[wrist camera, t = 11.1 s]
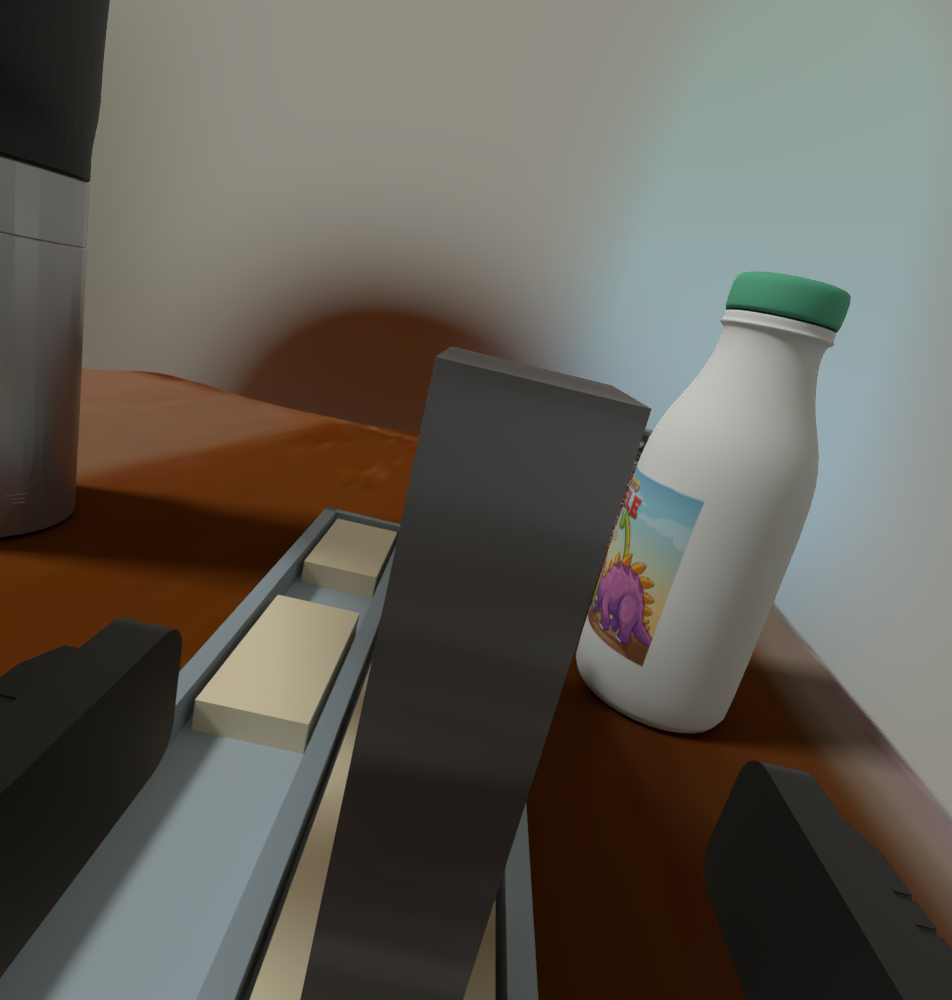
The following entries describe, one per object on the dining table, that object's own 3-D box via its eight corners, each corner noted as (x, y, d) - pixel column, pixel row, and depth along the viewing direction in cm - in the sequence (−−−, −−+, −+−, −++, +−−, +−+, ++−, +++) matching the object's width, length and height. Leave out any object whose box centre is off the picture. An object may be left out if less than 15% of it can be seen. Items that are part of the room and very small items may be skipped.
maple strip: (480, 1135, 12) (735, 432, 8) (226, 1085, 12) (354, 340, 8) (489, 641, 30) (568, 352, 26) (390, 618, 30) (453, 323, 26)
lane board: (523, 1307, 11) (553, 1239, 10) (-189, 1175, 10) (-199, 1095, 10) (503, 577, 40) (510, 549, 40) (321, 535, 40) (326, 507, 39)
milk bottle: (712, 674, 34) (857, 309, 29) (735, 762, 27) (936, 295, 21) (577, 630, 36) (691, 272, 30) (565, 703, 28) (712, 247, 23)
